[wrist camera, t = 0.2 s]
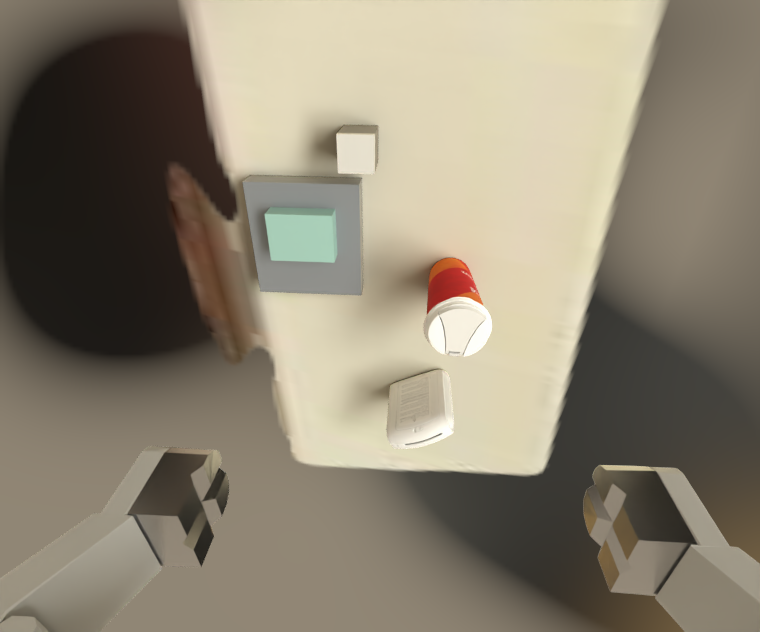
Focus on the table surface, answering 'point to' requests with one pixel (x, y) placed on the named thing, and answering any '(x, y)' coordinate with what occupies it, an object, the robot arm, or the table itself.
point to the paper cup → (455, 310)
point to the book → (420, 410)
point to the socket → (308, 194)
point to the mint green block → (302, 234)
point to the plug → (357, 149)
